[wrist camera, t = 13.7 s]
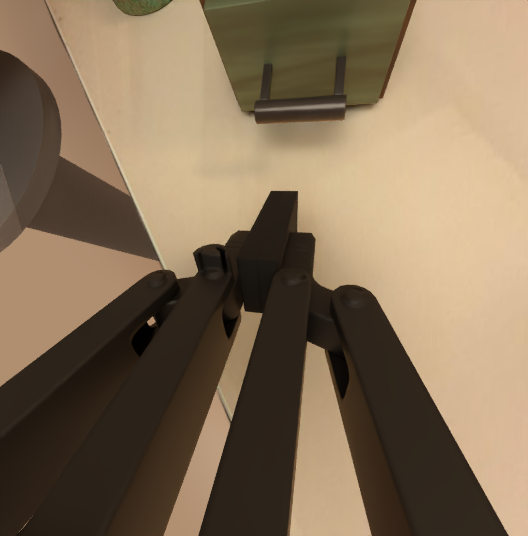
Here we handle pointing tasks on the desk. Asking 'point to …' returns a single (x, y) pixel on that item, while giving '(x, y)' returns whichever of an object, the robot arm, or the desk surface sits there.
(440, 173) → the desk surface
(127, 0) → the decorative artifact
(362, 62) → the drawer
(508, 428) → the desk surface
